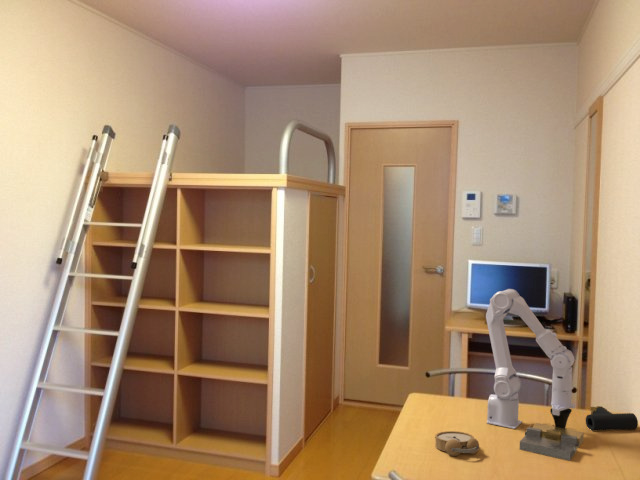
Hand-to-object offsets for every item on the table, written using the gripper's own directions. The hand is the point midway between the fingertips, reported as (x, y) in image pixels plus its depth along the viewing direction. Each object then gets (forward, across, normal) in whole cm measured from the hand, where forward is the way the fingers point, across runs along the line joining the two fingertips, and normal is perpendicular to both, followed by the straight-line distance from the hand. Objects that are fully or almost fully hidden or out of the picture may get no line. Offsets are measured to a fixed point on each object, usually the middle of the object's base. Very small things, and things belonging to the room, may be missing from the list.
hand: (560, 432), depth 193 cm
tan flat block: (+1, -6, 0) cm, 6 cm away
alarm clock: (+2, -31, +22) cm, 38 cm away
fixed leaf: (+1, -15, 0) cm, 15 cm away
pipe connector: (+2, +19, -10) cm, 21 cm away
